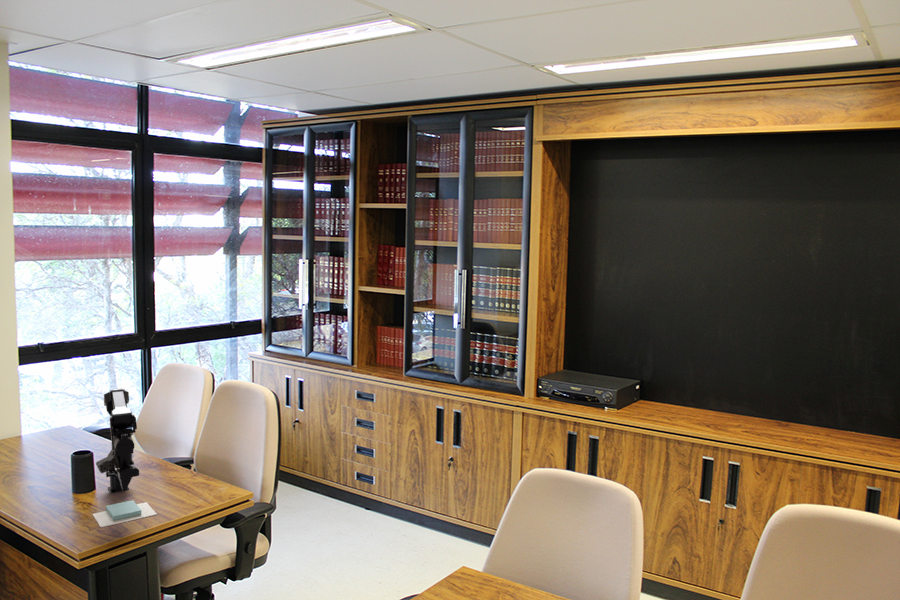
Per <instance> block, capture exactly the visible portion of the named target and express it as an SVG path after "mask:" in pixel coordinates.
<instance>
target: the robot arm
mask: <svg viewBox="0 0 900 600" xmlns="http://www.w3.org/2000/svg"><path fill="white" fill-rule="evenodd" d="M129 403H130V394H129V391H128V390H125V388H115V389H110V390H109V391H108V392H106V393H104V394H103V406H105V408H106V412H107V414H108V415H109V430H110V435H111V436H110V437H111V439H110V441H111V450H110V451H109V453H108V454H107V457H104V458H101V459H100V460H98V461H96V462H95V465H96V467H97V469H98V471H99V473H100V474H104V473H105V478H108V477H109V486H108V487H107V489H108V491H109V493H111V494H114V493H119V492H126V491H128V490H130V488H129V485H130V483H131V481H132V479H133V478H135V477H138V476H140V469H139V468H138V467H136V466H135V463H134V462H135V461H133V454H134V449H135V442H134V440H133V437H132V434H133V433H136V430H137V429H138V426H137V418H136V416H135V414H134V413H132V409H131V408H130V407H129V408H128V404H129Z"/></svg>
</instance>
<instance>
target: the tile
mask: <svg viewBox="0 0 900 600" xmlns="http://www.w3.org/2000/svg"><path fill="white" fill-rule="evenodd" d="M137 504H138V503H136V502H135V501H134V500H127V501H123V502H116V503H114V504H109V505H106V506H105V511H107V512H108V513H109V515H110V516H111V518H112V519H113V520H119V519H123V518H127V517H132V516H136V515H141V509H140V508H139V507H138V506H137Z"/></svg>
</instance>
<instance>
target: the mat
mask: <svg viewBox="0 0 900 600" xmlns="http://www.w3.org/2000/svg"><path fill="white" fill-rule="evenodd" d="M136 504H137V506H138V507H139V508H140V509H141V515H136V516H132V517H127V518H123V519H119V520H113V519H112V518H111V516H110V515H109V513H108V512H107V510H104V511H99V512H96V513H92V516H93V518H94V519H95V521H96V523H97V524H98V526H99V528H106V527H110V526H114V525H118V524H123V523H127V522H132V521H136V520H140V519H144V518H149V517H154V516H157V515H158V514H157V512H156V511H155V510H154V509H153V508H152V507H151V505H149V503H148V502H147V501H145V502H142V503H136Z"/></svg>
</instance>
